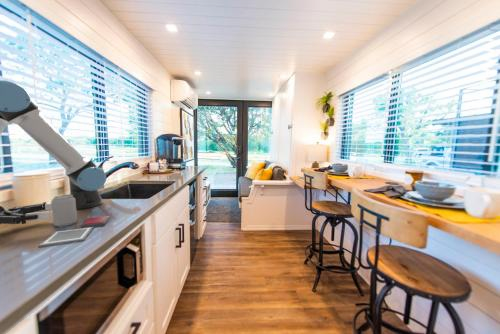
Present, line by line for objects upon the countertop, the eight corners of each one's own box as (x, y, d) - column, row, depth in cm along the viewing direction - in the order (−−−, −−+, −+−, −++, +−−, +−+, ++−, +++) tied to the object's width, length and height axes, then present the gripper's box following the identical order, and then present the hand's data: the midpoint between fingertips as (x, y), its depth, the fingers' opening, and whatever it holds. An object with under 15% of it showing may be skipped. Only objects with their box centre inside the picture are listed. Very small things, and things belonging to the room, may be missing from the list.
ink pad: (87, 221, 92) (87, 217, 92) (109, 218, 95) (109, 215, 95) (80, 228, 84) (80, 224, 84) (104, 225, 87) (104, 222, 87)
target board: (55, 233, 80) (55, 231, 80) (93, 228, 85) (93, 226, 84) (38, 247, 69) (38, 245, 69) (84, 240, 74) (83, 238, 73)
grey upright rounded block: (63, 228, 85) (60, 198, 83) (48, 226, 86) (45, 197, 85) (82, 221, 92) (79, 194, 91) (67, 220, 94) (65, 193, 92)
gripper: (8, 216, 91) (70, 210, 99) (-43, 240, 68) (43, 229, 76) (6, 199, 90) (68, 194, 98) (-47, 217, 67) (41, 209, 75)
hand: (57, 209), depth 87 cm, fingers open, 13 cm apart
